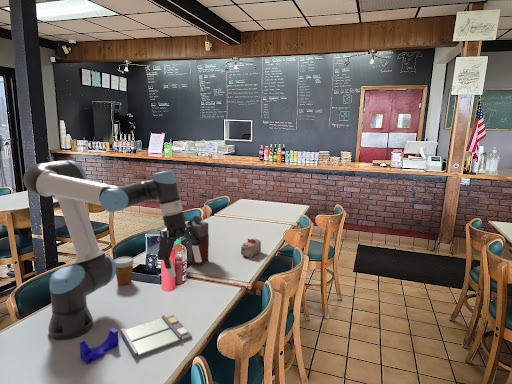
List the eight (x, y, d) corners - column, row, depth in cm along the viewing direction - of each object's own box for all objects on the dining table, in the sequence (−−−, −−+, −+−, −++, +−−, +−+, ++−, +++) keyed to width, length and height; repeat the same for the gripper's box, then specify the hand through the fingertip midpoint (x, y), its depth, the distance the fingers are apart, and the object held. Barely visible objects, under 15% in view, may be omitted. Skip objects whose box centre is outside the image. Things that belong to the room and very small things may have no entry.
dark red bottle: (210, 259, 204) (210, 213, 199) (199, 266, 194) (199, 218, 189) (198, 256, 208) (197, 211, 202) (186, 263, 198) (186, 215, 193)
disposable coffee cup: (126, 276, 179) (124, 254, 177) (138, 281, 175) (137, 258, 172) (110, 283, 171) (108, 260, 169) (122, 288, 166) (121, 265, 164)
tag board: (121, 334, 132) (120, 328, 131) (173, 317, 144) (173, 312, 143) (135, 359, 118) (135, 353, 118) (191, 338, 130) (191, 332, 130)
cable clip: (87, 365, 115) (85, 348, 114) (80, 358, 118) (79, 343, 117) (120, 347, 124) (120, 332, 123) (114, 342, 127) (113, 327, 126)
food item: (251, 259, 207) (251, 243, 205) (239, 256, 210) (240, 241, 208) (261, 252, 218) (262, 237, 216) (250, 249, 222) (251, 235, 220)
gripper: (152, 222, 114) (167, 283, 116) (203, 204, 134) (215, 256, 136) (138, 223, 118) (153, 282, 120) (189, 205, 138) (201, 256, 141)
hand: (186, 268), depth 128 cm, fingers open, 13 cm apart
